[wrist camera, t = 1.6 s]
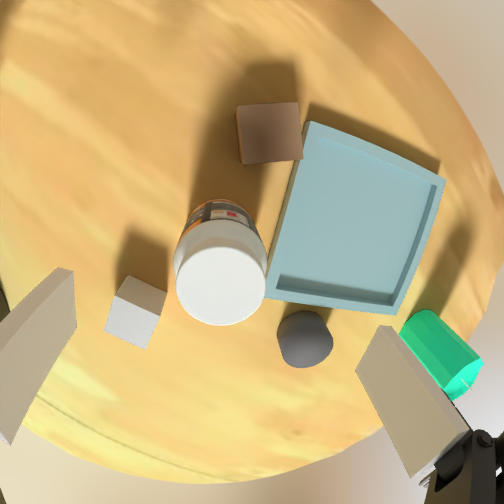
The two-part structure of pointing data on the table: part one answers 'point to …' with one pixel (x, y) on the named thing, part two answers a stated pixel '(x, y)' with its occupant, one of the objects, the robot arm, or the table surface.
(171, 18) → the table surface
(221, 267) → the pill bottle
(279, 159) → the walnut block
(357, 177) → the tray
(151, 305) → the grey block
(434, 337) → the candle
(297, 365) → the dark grey stone
